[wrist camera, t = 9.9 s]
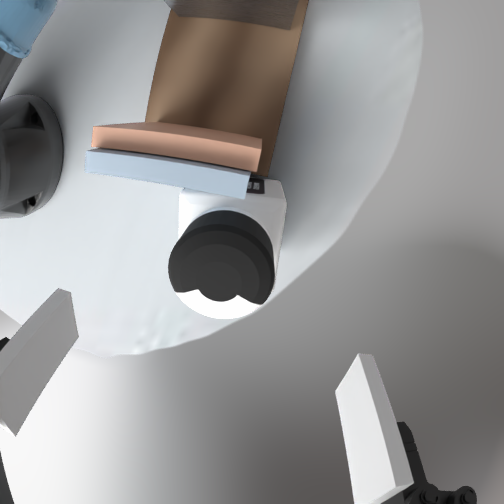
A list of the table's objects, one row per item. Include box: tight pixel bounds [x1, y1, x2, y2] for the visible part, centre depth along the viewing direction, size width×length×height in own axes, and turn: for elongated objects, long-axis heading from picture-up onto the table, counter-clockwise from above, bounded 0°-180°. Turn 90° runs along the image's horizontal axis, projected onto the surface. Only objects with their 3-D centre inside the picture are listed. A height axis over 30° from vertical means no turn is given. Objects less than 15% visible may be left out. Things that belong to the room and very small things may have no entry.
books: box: [85, 122, 262, 199], centre depth 19 cm, size 10×2×12 cm, turn 78°
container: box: [168, 177, 287, 319], centre depth 23 cm, size 8×8×13 cm
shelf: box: [145, 0, 309, 177], centre depth 22 cm, size 12×21×2 cm, turn 168°
